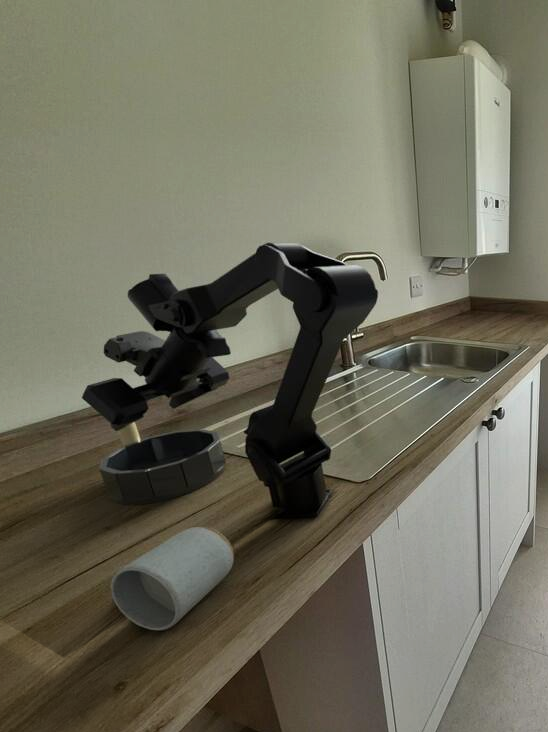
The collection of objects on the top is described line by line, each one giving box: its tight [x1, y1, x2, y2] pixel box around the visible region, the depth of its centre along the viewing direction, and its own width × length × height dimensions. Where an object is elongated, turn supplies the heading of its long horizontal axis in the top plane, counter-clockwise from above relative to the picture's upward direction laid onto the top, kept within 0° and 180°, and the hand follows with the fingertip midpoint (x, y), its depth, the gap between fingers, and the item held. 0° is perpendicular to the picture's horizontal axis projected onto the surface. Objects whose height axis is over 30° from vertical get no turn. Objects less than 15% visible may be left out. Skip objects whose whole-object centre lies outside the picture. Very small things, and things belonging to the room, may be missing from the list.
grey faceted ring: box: [98, 421, 227, 506], centre depth 66 cm, size 17×15×13 cm
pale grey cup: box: [110, 525, 235, 631], centre depth 44 cm, size 11×8×8 cm
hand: (145, 416), depth 67 cm, fingers open, 9 cm apart
